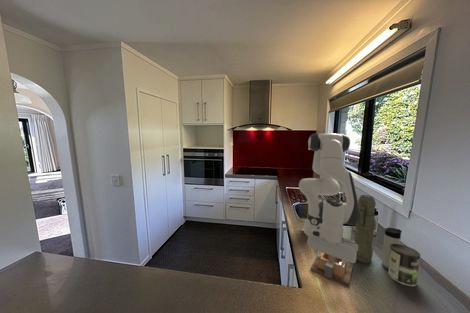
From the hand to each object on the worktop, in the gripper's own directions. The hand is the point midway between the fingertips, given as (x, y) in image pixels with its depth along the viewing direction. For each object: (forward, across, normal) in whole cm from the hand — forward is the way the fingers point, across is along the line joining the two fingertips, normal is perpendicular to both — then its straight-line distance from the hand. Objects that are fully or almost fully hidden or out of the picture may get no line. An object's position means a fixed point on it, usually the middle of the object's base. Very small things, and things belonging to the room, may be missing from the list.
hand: (329, 262), depth 86 cm
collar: (+5, 0, -5) cm, 7 cm away
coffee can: (+7, -27, -22) cm, 36 cm away
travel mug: (+7, -23, -29) cm, 38 cm away
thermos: (+7, -11, -28) cm, 31 cm away
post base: (+7, 0, -7) cm, 10 cm away
